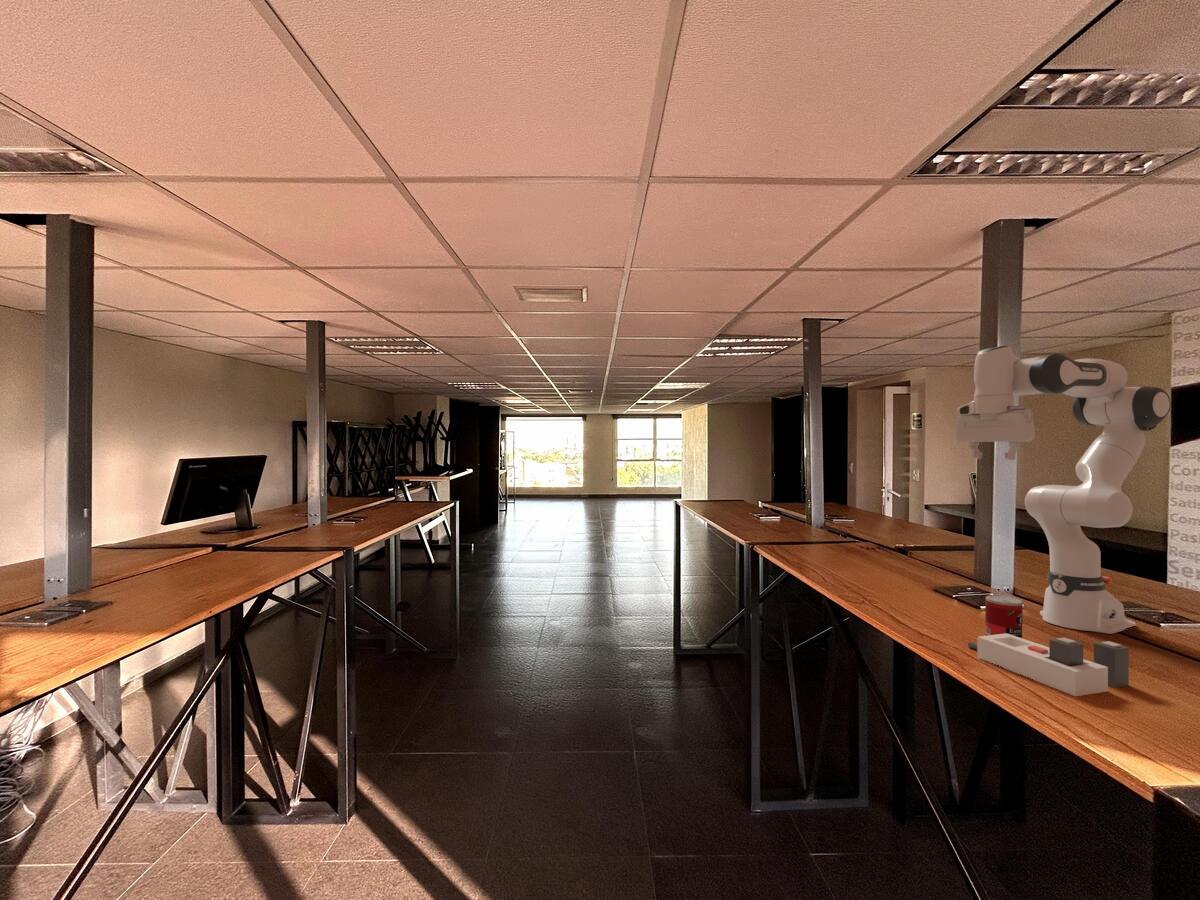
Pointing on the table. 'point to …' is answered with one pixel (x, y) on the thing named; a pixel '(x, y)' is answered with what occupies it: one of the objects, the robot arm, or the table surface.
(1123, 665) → the plug
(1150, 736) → the table surface
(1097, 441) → the robot arm
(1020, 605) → the canned food
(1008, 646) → the pdu strip
